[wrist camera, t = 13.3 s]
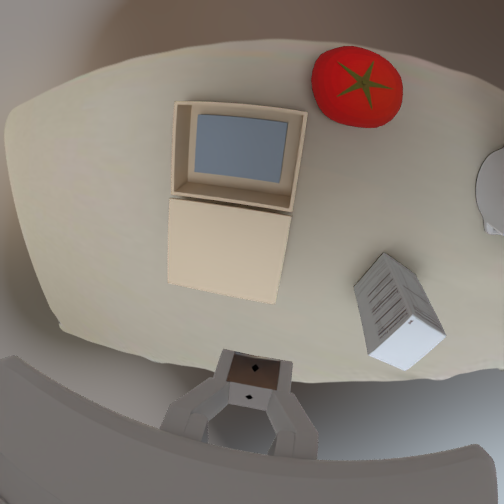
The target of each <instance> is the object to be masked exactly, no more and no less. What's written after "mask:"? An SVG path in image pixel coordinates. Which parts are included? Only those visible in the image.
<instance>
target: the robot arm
mask: <svg viewBox="0 0 504 504" xmlns="http://www.w3.org/2000/svg"><path fill="white" fill-rule="evenodd" d="M476 200H477V204H478V208H479V210H480V212H481V214H482V216H483V219H484V229H485V232H487V233H488V234H496V235H503V236H504V147H503V148H502V149H500V150H497V151H495V152H493V153H492V154H490V155H489V156H488V157H487V158H486V160H485V161H484V163H483V164H482V166H481V169H480V171H479V174H478V178H477V183H476ZM493 228H494V229H493ZM292 367H293V363H292V362H291V361H285V360H280V359H274V358H267V357H261V356H254V355H249V354H245V353H240V352H236V351H231V350H227V349H223V351H222V353H221V356H220V359H219V362H218V365H217V368H216V371H215V374H214V377H213V378H208V379H207V380H205V381H204V382H202V383H201V384H200V385H198V386H197V387H195V388H194V389H192V390H191V391H189V392H188V393H186V394H185V395H184V396H182V397H181V398H179V399H177V400H176V401H174V402H173V403H171V404H170V406H169V408H168V410H167V413H166V415H165V417H164V420H163V422H162V424H161V427H160V429H158V428H155V427H152V426H149V425H147V424H144V423H141V422H139V421H136V420H134V419H131V418H129V417H126V416H124V415H122V414H119V413H117V412H115V411H112V410H110V409H108V408H106V407H103V406H101V405H99V404H97V403H95V402H93V401H91V400H89V399H87V398H85V397H83V396H81V395H79V394H77V393H76V392H74V391H72V390H70V389H68V388H66V387H65V386H63V385H61V384H60V383H58V382H56V381H54V380H53V379H51V378H49V377H48V376H46V375H45V374H43V373H41V372H40V371H38V370H37V369H35V368H34V367H32V366H31V365H29V364H28V363H26V362H25V361H24V360H22V359H21V358H19V357H18V356H14V355H13V356H8V357H5V358H2V359H0V504H498V492H497V477H496V469H495V464H494V461H493V459H492V458H491V456H490V455H489V454H488V453H487V452H486V451H485V450H484V449H483V448H482V447H481V446H480V445H478V444H471V445H468V446H464V447H460V448H456V449H451V450H446V451H441V452H436V453H430V454H425V455H418V456H411V457H402V458H392V459H379V460H357V461H356V460H354V461H338V460H317V451H318V432H317V430H316V429H315V427H314V426H313V424H312V422H311V421H310V419H309V418H308V416H307V414H306V413H305V411H304V410H303V408H302V407H301V405H300V403H299V401H298V400H297V398H296V397H295V395H294V393H290V389H291V378H292ZM228 404H233V405H239V406H244V407H250V408H255V409H260V410H265V411H266V413H267V415H268V417H269V419H270V422H271V424H272V426H273V428H274V431H275V433H276V437H275V439H274V441H273V443H272V445H271V446H270V449H269V450H268V454H267V455H263V454H257V453H250V452H245V451H240V450H235V449H230V448H225V447H221V446H217V445H212V444H208V440H209V435H208V421H210V420H211V419H212V418H213V417H214V416H215V415H216V414H218V413H219V412H220V411H221V410H222V409H223V408H224V407H226V406H227V405H228Z"/></svg>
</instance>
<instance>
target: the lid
mask: <svg viewBox="0 0 504 504" xmlns="http://www.w3.org/2000/svg"><path fill="white" fill-rule="evenodd" d="M291 217H292V216H289V215H284V214H278V213H272V212H266V211H260V210H253V209H247V208H241V207H234V206H227V205H221V204H214V203H206V202H199V201H192V200H184V199H176V198H170V200H169V222H168V283H170V284H175V285H179V286H184V287H188V288H193V289H197V290H202V291H207V292H212V293H216V294H221V295H226V296H231V297H236V298H242V299H247V300H252V301H258V302H263V303H268V304H274V305H275V303H276V298H277V293H278V288H279V283H280V277H281V272H282V267H283V262H284V256H285V251H286V245H287V240H288V234H289V228H290V223H291Z"/></svg>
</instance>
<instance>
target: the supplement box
mask: <svg viewBox="0 0 504 504" xmlns="http://www.w3.org/2000/svg"><path fill="white" fill-rule="evenodd" d="M354 291H355V295H356V299H357V303H358V308H359V312H360V317H361V321H362V326H363V331H364V336H365V341H366V347H367V352H368V355H369V356H371V357H374V358H376V359H378V360H381V361H383V362H385V363H388V364H390V365H392V366H395V367H397V368H399V369H402V370H404V371H406V370H407V369H409V368H410V367H412V366H413V365H414V364H415V363H416V362H418V361H419V360H420V359H421V358H422V357H424V356H425V355H426V354H427V353H428V352H429V351H431V350H432V349H433V348H434V347H435V346H436V345H437V344H439V343H440V342H441V341H442V340H443V339H444V338H445V337H446V334H445V332H444V330H443V327H442V325H441V323H440V321H439V319H438V317H437V315H436V313H435V311H434V309H433V307H432V306H431V304H430V301H429V299H428V297H427V295H426V293H425V291H424V289H423V288H422V286H421V284H420V282H419V280H418V278H417V276H416V275H415V274H414V273H413V272H412V271H410V270H409V269H407V268H406V267H405V266H403V265H402V264H400V263H399V262H397V261H396V260H395V259H393V258H392V257H390V256H389V255H387V254H386V253H383V254H382V255H381V256H380V257H379V258H378V260H377V261H376V262H375V263H374V264H373V266H372V267H371V268H370V269H369V270H368V272H367V273H366V274H365V275H364V276H363V277H362V278H361V280H360V281H359V282H358V283H357V284H356V285H355V286H354Z"/></svg>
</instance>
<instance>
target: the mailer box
mask: <svg viewBox="0 0 504 504" xmlns="http://www.w3.org/2000/svg"><path fill="white" fill-rule="evenodd" d="M307 116H308V112H304V111H297V110H291V109H284V108H277V107H269V106H260V105H250V104H238V103H224V102H201V101H174V115H173V133H172V160H171V195H179V196H187V197H195V198H202V199H210V200H217V201H224V202H231V203H237V204H244V205H251V206H257V207H263V208H269V209H275V210H281V211H287V212H292V211H293V205H294V199H295V193H296V187H297V181H298V175H299V169H300V162H301V156H302V150H303V143H304V136H305V130H306V123H307Z"/></svg>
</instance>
